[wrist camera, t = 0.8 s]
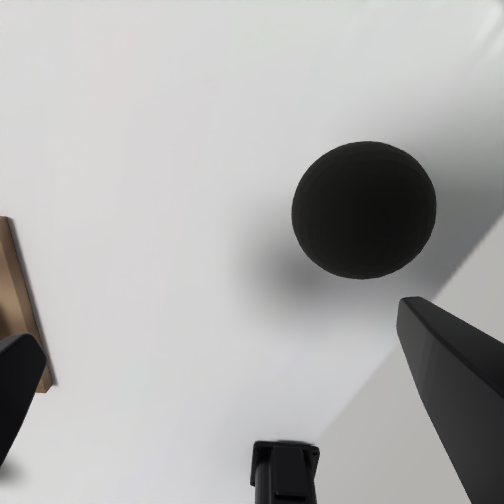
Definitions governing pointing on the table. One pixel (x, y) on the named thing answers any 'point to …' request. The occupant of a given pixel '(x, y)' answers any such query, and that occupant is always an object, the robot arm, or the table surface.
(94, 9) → the table surface
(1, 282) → the collar plate
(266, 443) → the robot arm
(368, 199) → the light bulb
